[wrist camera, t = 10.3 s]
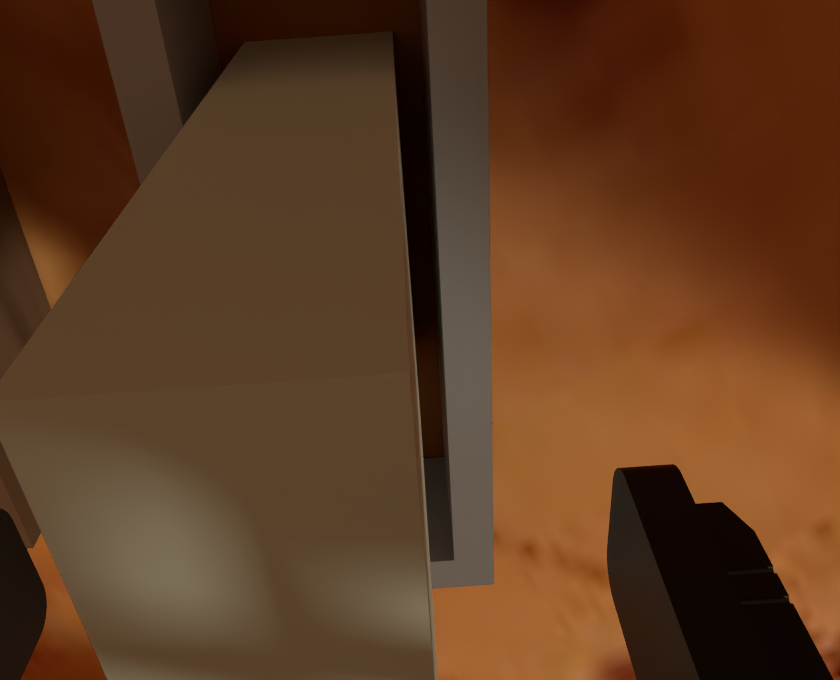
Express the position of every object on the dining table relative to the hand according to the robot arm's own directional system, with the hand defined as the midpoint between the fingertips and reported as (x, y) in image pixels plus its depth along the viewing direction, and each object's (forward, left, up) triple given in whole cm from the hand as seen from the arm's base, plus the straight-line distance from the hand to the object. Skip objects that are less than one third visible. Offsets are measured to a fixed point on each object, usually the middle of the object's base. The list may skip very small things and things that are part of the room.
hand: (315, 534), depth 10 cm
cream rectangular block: (0, 0, -10) cm, 10 cm away
